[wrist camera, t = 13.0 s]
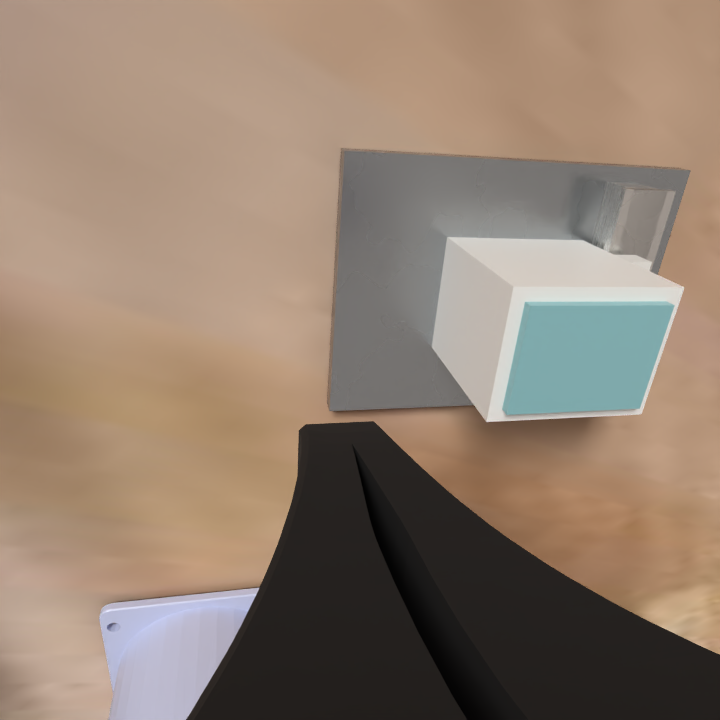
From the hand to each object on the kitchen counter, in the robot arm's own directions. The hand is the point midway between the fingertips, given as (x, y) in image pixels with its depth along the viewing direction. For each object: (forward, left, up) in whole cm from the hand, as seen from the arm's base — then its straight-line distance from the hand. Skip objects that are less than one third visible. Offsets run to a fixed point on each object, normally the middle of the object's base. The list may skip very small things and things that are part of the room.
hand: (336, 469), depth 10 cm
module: (0, -8, -9) cm, 12 cm away
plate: (0, -8, -10) cm, 12 cm away
